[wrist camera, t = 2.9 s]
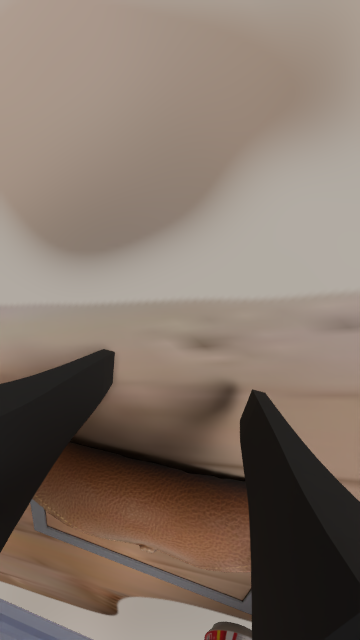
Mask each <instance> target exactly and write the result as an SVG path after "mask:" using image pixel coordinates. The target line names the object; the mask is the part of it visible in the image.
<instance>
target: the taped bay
mask: <svg viewBox="0 0 360 640" xmlns="http://www.w3.org/2000/svg"><path fill="white" fill-rule="evenodd" d="M30 504H31V510H32V516H33V523H34V529H35V530H36V531H38V532H41V533H44V534H46V535H49V536H51V537H54V538H56V539H59V540H61V541H64V542H67V543H69V544H72V545H74V546H77V547H79V548H82V549H85V550H87V551H90V552H92V553H95V554H97V555H100V556H102V557H105V558H108V559H110V560H113V561H115V562H118V563H120V564H123V565H125V566H128V567H131V568H133V569H136V570H138V571H141V572H143V573H146V574H149V575H151V576H154V577H156V578H159V579H161V580H164V581H166V582H169V583H172V584H174V585H177V586H179V587H182V588H184V589H187V590H190V591H192V592H195V593H197V594H200V595H202V596H205V597H207V598H210V599H213V600H215V601H218V602H220V603H223V604H225V605H228V606H230V607H233V608H236V609H238V610H241V611H243V612H246V613H248V614H251V615H252V591H250V592H249V593H248V595H247V596H246V597H245V599H244V600H243V601H240V600H238V599H235V598H232V597H230V596H227V595H225V594H222V593H219V592H217V591H214V590H212V589H209V588H206V587H204V586H201V585H199V584H196V583H194V582H191V581H188V580H186V579H183V578H181V577H178V576H175V575H173V574H170V573H168V572H165V571H162V570H160V569H157V568H155V567H152V566H149V565H147V564H144V563H142V562H139V561H136V560H134V559H131V558H129V557H126V556H123V555H121V554H118V553H116V552H113V551H110V550H108V549H105V548H103V547H100V546H97V545H95V544H92V543H90V542H87V541H84V540H82V539H79V538H77V537H74V536H72V535H69V534H66V533H64V532H61V531H59V530H56V529H53V528H51V527H48V526H47V523H46V514H45V510H44V508H43V507H41V506H40V505H39V504H38V503H36V502H35V501H34V500H33V499H32V500H31V501H30Z"/></svg>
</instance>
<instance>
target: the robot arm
mask: <svg viewBox="0 0 360 640" xmlns="http://www.w3.org/2000/svg"><path fill="white" fill-rule="evenodd" d="M114 356H115V352H113V351H109V350H105V349H103V350H100V351H98V352H95V353H92V354H90V355H87V356H85V357H83V358H80V359H77V360H75V361H72V362H70V363H67V364H65V365H62V366H59V367H56V368H54V369H51V370H48V371H45V372H42V373H39V374H36V375H33V376H29V377H26V378H22V379H19V380H15V381H11V382H7V383H3V384H0V552H1V551H2V549H3V547H4V545H5V544H6V542H7V540H8V538H9V537H10V535H11V533H12V531H13V530H14V528H15V526H16V525H17V523H18V521H19V520H20V518H21V516H22V515H23V513H24V511H25V510H26V508H27V506H28V505H29V503H30V501H31V500H32V498H33V497H34V495H35V493H36V492H37V490H38V489H39V487H40V485H41V484H42V482H43V481H44V479H45V478H46V476H47V474H48V473H49V471H50V470H51V468H52V467H53V465H54V464H55V462H56V461H57V459H58V458H59V456H60V455H61V453H62V452H63V450H64V449H65V447H66V446H67V444H68V443H69V442H70V440H71V439H72V438H73V436H74V435H75V434H76V433H77V431H78V430H79V429H80V428H81V426H82V425H83V424H84V423H85V421H86V420H87V419H88V418H89V416H90V415H91V414H92V413H93V411H94V410H95V409H96V408H97V406H98V405H99V404H100V402H101V401H102V400H103V398H104V397H105V395H106V393H107V392H108V390H109V388H110V387H111V385H112V383H113V369H114ZM240 443H241V452H242V459H243V467H244V474H245V482H246V489H247V497H248V507H249V526H250V551H251V591H252V640H360V502H359V501H358V500H357V499H356V498H355V497H354V496H353V495H352V494H351V493H350V492H349V491H348V490H347V489H346V488H345V487H344V486H343V485H342V484H341V483H340V482H339V481H338V480H337V479H336V478H335V477H334V476H333V475H332V474H331V473H330V472H329V471H328V469H327V468H326V467H325V466H324V465H323V464H322V463H321V462H320V461H319V460H318V459H317V458H316V456H315V455H314V454H313V453H312V452H311V451H310V449H309V448H308V447H307V446H306V445H305V444H304V442H303V441H302V440H301V439H300V438H299V436H298V435H297V434H296V433H295V431H294V430H293V429H292V428H291V426H290V425H289V424H288V422H287V421H286V420H285V419H284V417H283V416H282V415H281V413H280V412H279V411H278V409H277V408H276V407H275V405H274V404H273V403H272V401H271V400H270V399H269V397H268V396H267V395H266V393H264V392H260V391H256V390H253V389H252V391H251V394H250V396H249V399H248V402H247V404H246V407H245V409H244V412H243V414H242V417H241V419H240ZM0 640H92V639H90V638H88V637H86V636H83V635H81V634H79V633H77V632H75V631H72V630H70V629H68V628H66V627H63V626H61V625H59V624H56V623H54V622H52V621H50V620H47V619H45V618H43V617H41V616H38V615H36V614H34V613H32V612H29V611H27V610H25V609H22V608H20V607H18V606H16V605H14V604H11V603H9V602H7V601H4V600H2V599H0Z"/></svg>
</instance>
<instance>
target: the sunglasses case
mask: <svg viewBox="0 0 360 640" xmlns="http://www.w3.org/2000/svg"><path fill="white" fill-rule="evenodd" d="M32 499H33V500H34V501H35V502H36V503H38V504H39V505H40V506H41V507H43V508H44V510H46V511H47V512H48V513H49V514H51V515H53V516H54V517H55V518H57V519H58V520H60V521H61V522H63V523H64V524H66V525H68V526H70V527H72V528H74V529H76V530H78V531H81V532H84V533H86V534H89V535H91V536H94V537H98V538H102V539H107V540H112V541H120V542H125V543H130V544H136V545H139V546H140V549H141V550H143V551H146V552H149V553H154V552H155V551H156V550H158V551H160V552H162V553H165V554H168V555H169V556H172V557H173V558H176V559H179V560H182V561H183V562H186V563H188V564H191V565H193V566H195V567H198V568H201V569H206V570H213V571H221V572H250V571H251V551H250V526H249V507H248V497H247V489H246V482H243V481H238V480H234V479H219V478H217V477H214V476H209V475H200V474H189V473H186V472H184V471H182V470H178V469H174V468H170V467H166V466H163V465H159V464H155V463H151V462H146V461H141V460H135V459H130V458H127V457H124V456H122V455H118V454H115V453H111V452H107V451H102V450H98V449H94V448H89V447H86V446H82V445H78V444H75V443H71V442H69V443H68V444H67V446H66V447H65V449H64V450H63V452H62V453H61V455H60V456H59V458H58V459H57V461H56V462H55V464H54V465H53V467H52V468H51V470H50V471H49V473H48V474H47V476H46V478H45V479H44V481H43V482H42V484H41V485H40V487H39V489H38V490H37V492H36V493H35V495H34V497H33V498H32Z"/></svg>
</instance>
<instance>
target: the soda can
mask: <svg viewBox="0 0 360 640" xmlns="http://www.w3.org/2000/svg"><path fill="white" fill-rule="evenodd" d="M204 640H252V630H250V629H248V628H246V627H244V626H242V625H239V624H235V623H231V622H218V623H216V624H214V626H213V628H212V629H211V630H209V631H208V632H207V633H206V635H205V639H204Z"/></svg>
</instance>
